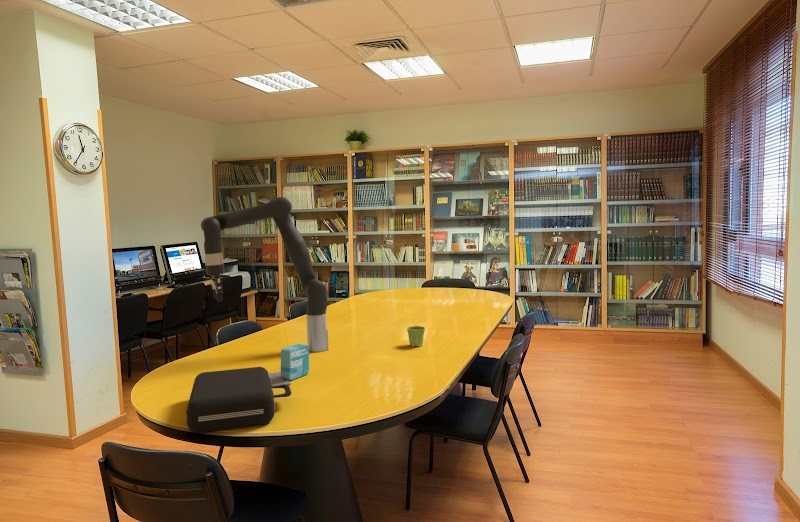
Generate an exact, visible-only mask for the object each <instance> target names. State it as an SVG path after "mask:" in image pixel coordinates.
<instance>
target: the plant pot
mask: <svg viewBox="0 0 800 522" xmlns="http://www.w3.org/2000/svg"><path fill="white" fill-rule="evenodd" d="M406 331H407V334H408V340H409V341H408V342H409V346H410V345H413V346H417V347H419V345H422V344H423V343H424V336H425V331H426V327H425V326H421V325H411V326H408V327H406ZM422 346H423V345H422Z"/></svg>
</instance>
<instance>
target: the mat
mask: <svg viewBox="0 0 800 522" xmlns="http://www.w3.org/2000/svg"><path fill="white" fill-rule="evenodd" d="M268 374H269V377H270V382H271V385H272V386H277V385H284V384H287V385H289V386H291V382H290V380H288V379H283V378H281V371H276V372H270V373H269V372H268Z"/></svg>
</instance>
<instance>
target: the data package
mask: <svg viewBox="0 0 800 522" xmlns="http://www.w3.org/2000/svg"><path fill="white" fill-rule="evenodd" d="M309 371H310V351H309V346H308V344H303V343H302V344H301V343H297V344H293V345H290V346H286V347H283V348H282V349H281V351H280V372H281V378H283V379H288V381H293V380H296V379H299V378H302V377H304V376H306V375H308V373H310V372H309Z"/></svg>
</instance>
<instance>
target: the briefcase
mask: <svg viewBox="0 0 800 522" xmlns="http://www.w3.org/2000/svg"><path fill="white" fill-rule="evenodd" d="M268 373H269V371H268V370H267V369H266V368H265V367H263V366H254V367H243V368H242V367H241V368H235V369H234V368H233V369H224V370H215V371H204V372H200V373H198V375H196V376H195V378H194V380H193V383H192V388H191V392H190V395H189V399H188V403H187V407H186V410H185V420H186V421H185V422H186V425H187V427H188V429H189V431H191V432H193V433H197V434H199V433H200V434H202V433H208V432H217V431H224V430H231V429H238V428H239V429H240V428H247V427H252V426H261V425H267V424H269V423H271V421H273V419H274V417H275V413H276V401H275V398H276V399H277V398H288V397H290V396H292V389H291V385H287V384H284V385H277V386H272V385H271V382H270V377H269V374H268ZM273 389H284V393H280V394H274V390H273Z"/></svg>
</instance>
